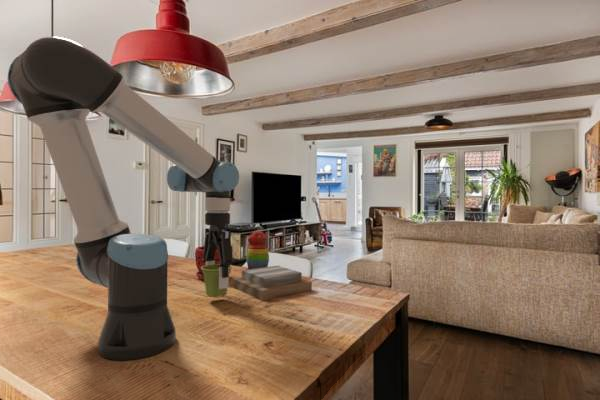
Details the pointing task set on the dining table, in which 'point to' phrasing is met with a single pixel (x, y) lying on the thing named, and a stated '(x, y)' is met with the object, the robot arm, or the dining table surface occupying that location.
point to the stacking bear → (257, 251)
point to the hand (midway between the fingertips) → (216, 284)
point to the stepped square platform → (271, 282)
